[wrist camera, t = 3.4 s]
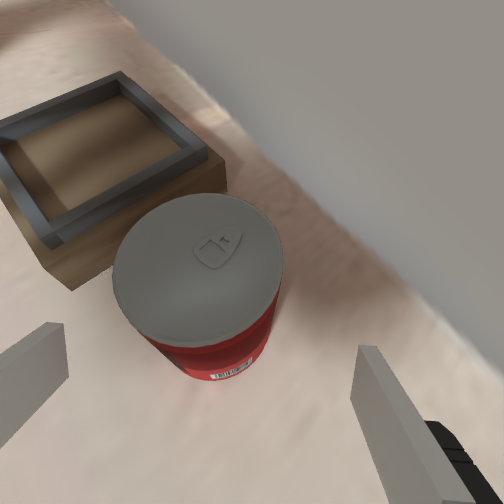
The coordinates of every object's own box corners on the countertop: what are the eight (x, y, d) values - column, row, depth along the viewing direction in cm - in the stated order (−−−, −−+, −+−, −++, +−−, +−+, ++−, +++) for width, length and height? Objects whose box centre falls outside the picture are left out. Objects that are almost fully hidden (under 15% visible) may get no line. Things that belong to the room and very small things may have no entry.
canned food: (285, 305, 25) (310, 225, 15) (237, 405, 21) (230, 382, 12) (202, 265, 26) (177, 170, 17) (145, 351, 23) (71, 293, 13)
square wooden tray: (-1, 177, 31) (-46, 131, 26) (140, 111, 36) (124, 62, 32) (71, 291, 25) (30, 257, 20) (227, 191, 30) (223, 146, 26)
